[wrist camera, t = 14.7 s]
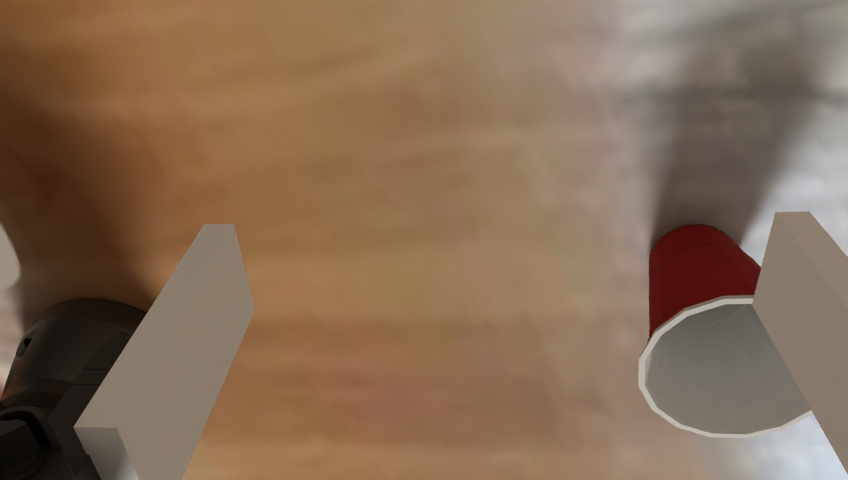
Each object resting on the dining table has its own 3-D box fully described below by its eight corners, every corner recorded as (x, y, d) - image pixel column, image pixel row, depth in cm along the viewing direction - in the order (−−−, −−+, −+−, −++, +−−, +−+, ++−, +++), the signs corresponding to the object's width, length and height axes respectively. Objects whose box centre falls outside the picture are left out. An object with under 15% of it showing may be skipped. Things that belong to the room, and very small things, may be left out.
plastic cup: (626, 184, 45) (664, 294, 35) (790, 196, 44) (877, 312, 34) (596, 309, 51) (622, 434, 41) (741, 322, 50) (802, 451, 40)
